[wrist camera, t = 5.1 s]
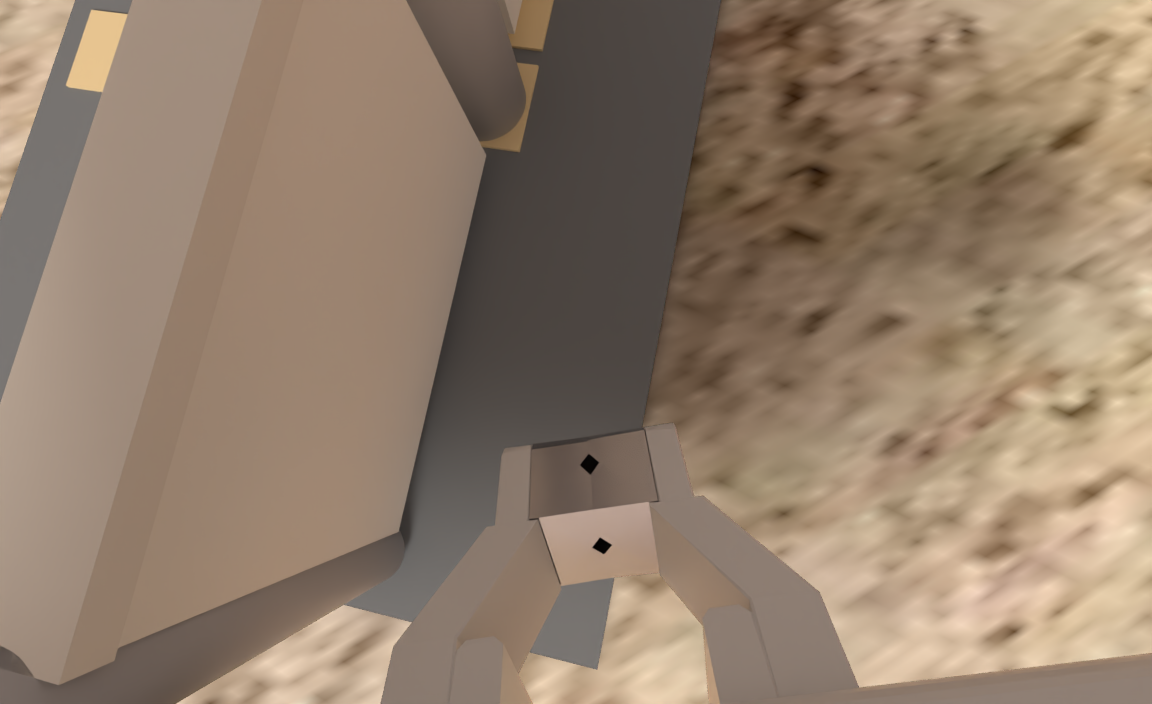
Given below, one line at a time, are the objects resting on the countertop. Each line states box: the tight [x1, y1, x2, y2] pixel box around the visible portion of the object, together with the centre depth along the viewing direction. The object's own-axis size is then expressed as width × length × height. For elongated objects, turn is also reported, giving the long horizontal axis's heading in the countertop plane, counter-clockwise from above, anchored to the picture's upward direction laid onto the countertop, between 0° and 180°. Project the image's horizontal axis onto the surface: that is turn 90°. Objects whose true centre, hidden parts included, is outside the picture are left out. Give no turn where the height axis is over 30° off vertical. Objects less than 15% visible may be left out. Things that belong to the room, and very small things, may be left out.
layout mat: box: [0, 0, 721, 669], centre depth 17 cm, size 20×25×1 cm
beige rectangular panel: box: [0, 0, 486, 704], centre depth 10 cm, size 2×11×9 cm, turn 168°
